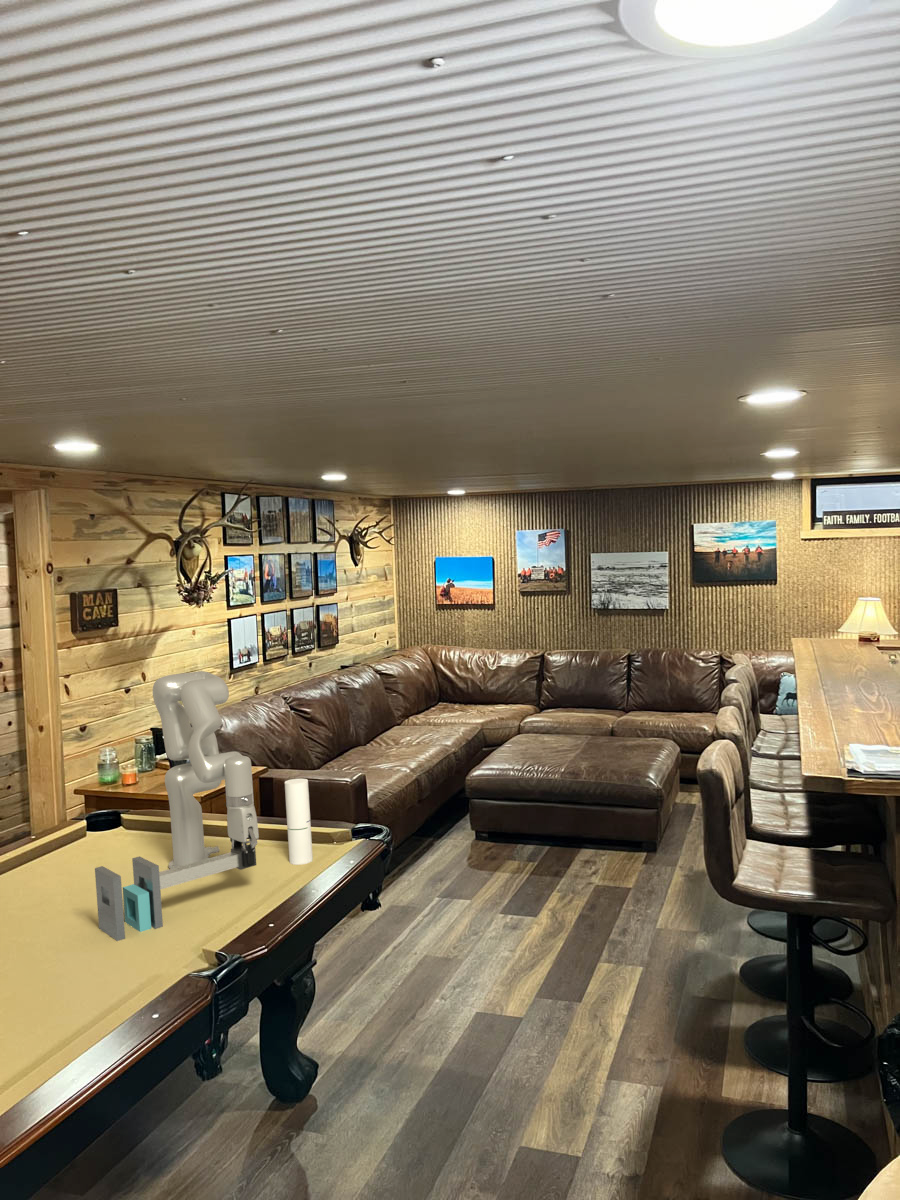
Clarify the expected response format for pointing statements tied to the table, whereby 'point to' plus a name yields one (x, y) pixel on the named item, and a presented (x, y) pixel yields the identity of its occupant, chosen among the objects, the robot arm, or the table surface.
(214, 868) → the shaft
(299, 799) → the cylindrical container
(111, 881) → the pair of grey plates
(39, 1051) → the table surface
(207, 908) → the table surface
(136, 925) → the spacer
